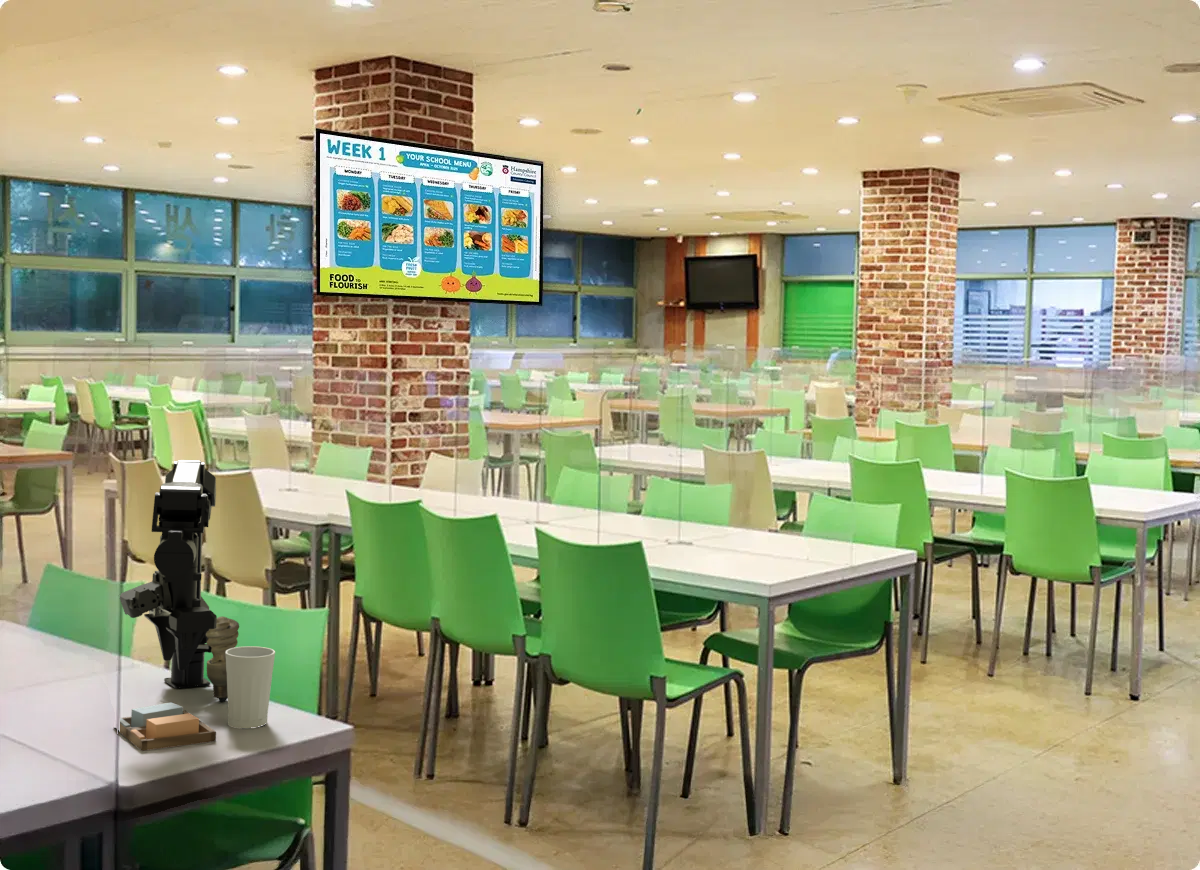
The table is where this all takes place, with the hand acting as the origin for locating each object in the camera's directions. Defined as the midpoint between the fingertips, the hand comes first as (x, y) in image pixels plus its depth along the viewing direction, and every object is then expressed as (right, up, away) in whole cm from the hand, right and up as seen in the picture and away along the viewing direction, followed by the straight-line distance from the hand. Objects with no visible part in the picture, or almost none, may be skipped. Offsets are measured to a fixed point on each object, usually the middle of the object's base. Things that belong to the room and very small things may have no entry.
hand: (174, 664), depth 210 cm
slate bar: (-5, -12, +6) cm, 14 cm away
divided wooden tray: (-3, -12, +4) cm, 13 cm away
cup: (+8, -12, +12) cm, 19 cm away
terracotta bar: (-1, -12, +1) cm, 12 cm away
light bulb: (0, -11, +25) cm, 27 cm away
